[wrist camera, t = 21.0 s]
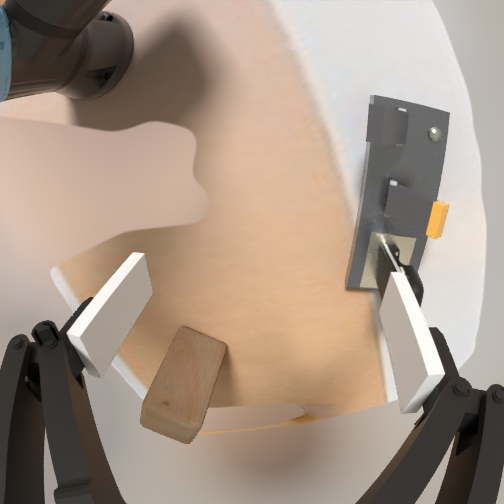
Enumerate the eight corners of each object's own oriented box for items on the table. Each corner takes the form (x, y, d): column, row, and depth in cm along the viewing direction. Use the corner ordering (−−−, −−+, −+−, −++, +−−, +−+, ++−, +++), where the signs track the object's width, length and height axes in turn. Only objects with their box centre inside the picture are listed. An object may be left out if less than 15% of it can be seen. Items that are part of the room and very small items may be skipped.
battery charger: (398, 282, 41) (418, 333, 32) (375, 283, 42) (390, 335, 32) (403, 241, 38) (430, 287, 28) (378, 242, 39) (399, 289, 29)
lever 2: (380, 215, 36) (434, 242, 30) (386, 180, 34) (444, 203, 27) (388, 213, 37) (440, 238, 31) (394, 179, 35) (449, 201, 28)
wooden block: (181, 322, 56) (140, 404, 38) (229, 342, 56) (201, 429, 39) (172, 351, 61) (137, 426, 43) (215, 369, 61) (189, 447, 44)
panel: (345, 280, 45) (346, 288, 43) (370, 95, 32) (374, 94, 30) (407, 285, 44) (411, 293, 42) (443, 111, 30) (451, 113, 28)
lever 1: (393, 143, 32) (365, 145, 27) (397, 107, 30) (369, 100, 25) (406, 147, 31) (381, 148, 26) (410, 110, 29) (385, 102, 24)
